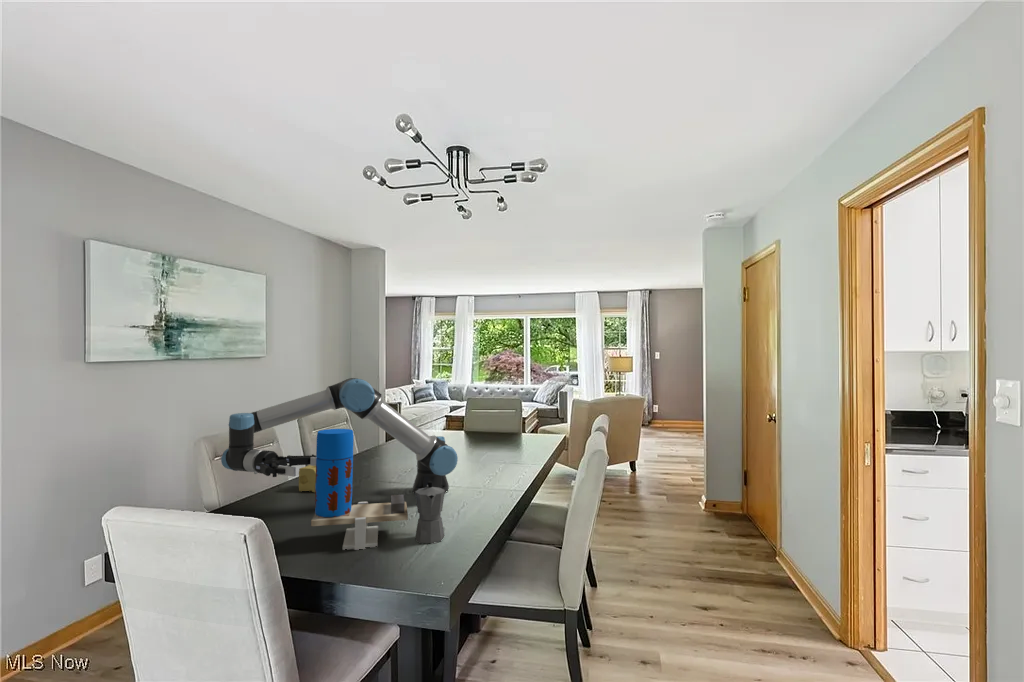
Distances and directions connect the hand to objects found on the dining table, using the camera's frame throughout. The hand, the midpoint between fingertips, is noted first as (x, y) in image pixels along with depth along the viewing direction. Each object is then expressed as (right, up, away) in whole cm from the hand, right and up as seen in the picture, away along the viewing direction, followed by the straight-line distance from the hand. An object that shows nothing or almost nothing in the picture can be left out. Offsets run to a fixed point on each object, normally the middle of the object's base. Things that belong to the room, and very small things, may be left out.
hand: (311, 467), depth 159 cm
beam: (+17, -14, -2) cm, 22 cm away
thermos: (+9, -13, -4) cm, 16 cm away
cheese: (-21, -24, +55) cm, 64 cm away
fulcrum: (+17, -22, -2) cm, 28 cm away
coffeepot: (+38, -22, -1) cm, 44 cm away
